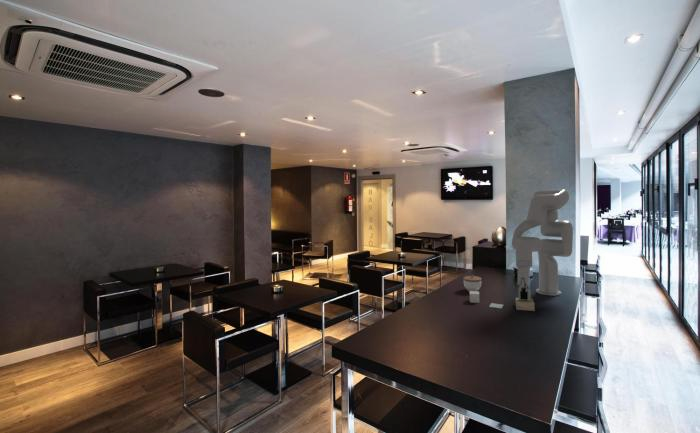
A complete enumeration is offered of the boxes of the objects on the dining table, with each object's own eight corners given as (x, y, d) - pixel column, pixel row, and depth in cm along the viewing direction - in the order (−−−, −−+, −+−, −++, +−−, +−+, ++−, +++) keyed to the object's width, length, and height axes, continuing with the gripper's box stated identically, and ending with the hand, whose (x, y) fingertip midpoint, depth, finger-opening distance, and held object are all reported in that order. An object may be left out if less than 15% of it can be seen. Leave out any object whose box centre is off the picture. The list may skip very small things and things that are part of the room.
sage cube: (519, 296, 175) (519, 287, 175) (530, 297, 172) (530, 288, 172) (518, 299, 171) (518, 289, 170) (529, 300, 168) (529, 290, 168)
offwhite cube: (469, 299, 189) (469, 291, 188) (479, 300, 187) (478, 291, 187) (469, 302, 184) (469, 293, 184) (479, 303, 182) (479, 294, 182)
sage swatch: (491, 303, 180) (491, 303, 180) (503, 305, 176) (503, 304, 176) (489, 307, 175) (489, 306, 175) (501, 308, 171) (501, 308, 171)
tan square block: (515, 305, 177) (515, 297, 177) (532, 306, 174) (532, 298, 174) (516, 310, 170) (516, 302, 169) (534, 311, 166) (534, 303, 166)
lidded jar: (459, 289, 209) (459, 275, 208) (472, 287, 213) (472, 272, 213) (472, 293, 199) (472, 278, 199) (485, 290, 204) (485, 275, 203)
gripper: (518, 259, 180) (518, 292, 181) (513, 265, 165) (514, 301, 166) (533, 260, 175) (534, 294, 176) (530, 266, 161) (531, 303, 162)
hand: (524, 297), depth 171 cm, fingers closed on sage cube, 5 cm apart
